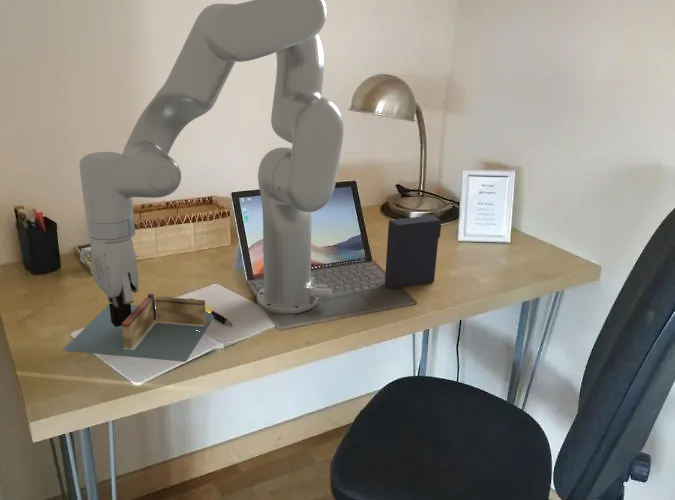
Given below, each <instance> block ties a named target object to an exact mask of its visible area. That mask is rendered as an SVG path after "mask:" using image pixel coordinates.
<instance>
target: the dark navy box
mask: <svg viewBox="0 0 675 500" xmlns="http://www.w3.org/2000/svg"><path fill="white" fill-rule="evenodd" d="M387 227H388V228H387V242H386V243H387V245H386V260H385V273H384V275H385V276H384V284H385V285H386V286H387V287H388V288H390V289H391V290H394V289H400V288H407V287H413V286H419V285H426V284H430V283H431V284H432V283H434V281H435V276H436V266H437V265H436V264H437V255H438V247H439V245H438V244H439V239H440V237H441V231H442V230H441V229H442V220H441V219H439V218H437V217H436V216H434V215H433V214H432V215H423V216H422V215H421V216H415V217H414V216H413V217H406V218H405V217H404V218H396V219H390V220H389V221H388V226H387Z"/></svg>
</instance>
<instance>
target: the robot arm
mask: <svg viewBox="0 0 675 500" xmlns="http://www.w3.org/2000/svg"><path fill="white" fill-rule="evenodd" d="M327 15H328V13H327V5H326V2H325V0H249V1H245V2H241V3H236V4H234V3H214V4H213V3H212V4H211V5H207V6H206V7H204V8H203V9H202V11H201V12H200V13H199V14H198V15H197V17H196V20H195V22H194V23H193V25H192V27H191V29H190V32H189V34H188V36H187V38H186V39H185V42H184V44H183V46H182V47H181V50H180V53H179V54H178V56H177V59H176V61H175V62H174V65H173V67H172V69H171V71H170V73H169V75H168V76H167V79H166V81H165V83H164V84H163V85H162V86H161V87H160V89H159V90H158V91H157V92H156V94H155V95H154V97H153V98H151V100H150V102H149V103H148V104H147V106H146V107H145V108H144V110H143V111H142V112H141V114H140V116H139V118H138V119H137V121H136V124H135V125H134V127H133V129H132V131H131V133H130V135H129V137H128V139H127V142H126V144H125V146H124V148H123V151H122V154H121V153H119V152H114V151H98V152H92V153H91V152H90V153H88V154H85V155H84V156H82V157H81V159H80V160H79V175H80V182H81V191H82V198H83V200H82V201H83V206H84V207H83V208H84V213H85V221H86V222H85V223H86V230H87V237H88V239H89V240H90V247H91V253H90V254H91V255H90V256H91V257H90V258H91V266H92V269H91V270H92V279H93V281H94V282H95V284H96V285H97V287H99V289H100V290H101V291H102V292H103V293H105V294H106V296H107V299H108V302H109V304H108V305H109V307H110V315H111V323H112V324H113V325H114V326H115V327H118V326H122V323H123V322H124V321H125V319H126V318H127V317H128V316H129V315H130V314H131V305H132V304H133V303H134V299H133V297H134V296H133V293H134V294H135V293H137V292H138V291H139V273H138V269H137V268H138V267H137V261H136V260H137V258H136V259H135V256H136V255H135V253H134V251H135V248H134V244H133V237H134V236H135V235H136V227H135V217H134V205H133V198H146V199H149V198H150V199H152V198H153V199H157V198H158V199H159V198H163V197H164V198H165V197H167V196H170V195H171V194H173V193H175V191H176V190H177V189H178V188H179V186H180V185H181V181H182V172H181V168H180V166H179V164H178V163H177V162H176V160H175V159H173V158H172V157H171V156H170V154H169V153H170V151H171V149H172V147H173V145H174V143H175V142H176V139H177V138H178V136H179V135H180V134H181V132H182V131H183V130H184V129H185V127H186V126H188V125H189V124H190V123H191V122H192V121H194V120H195V119H198V118H200V117H201V116H203V115H205V114H207V113H208V112H210V111H211V109H213V107H214V106H215V104H216V103H217V100H218V98H219V95H220V94H221V93H222V92H221V91H222V90H223V88H224V86H225V84H226V81H227V79H228V77H229V75H230V73H231V71H232V69H233V68H234V66H235V64H236V62H238V63H242V62H243V63H244V62H250V61H252V60H257V59H260V58H263V57H267V56H270V55H272V54H276V77H275V83H274V84H275V85H274V92H273V100H272V107H271V116H270V122H271V128H272V130H273V132H274V133H275V134H276V135H277V136H278V137H279V138H280V139H282V140H283V141H286V142H287V143H291V144H292V145H291V148H290V147H275V148H273V149H272V150H270V151H268V152H267V153H266V154H265V155H264V156H263V158H261V161H260V163H259V166H258V172H257V177H258V178H257V181H258V189H259V193H260V200H261V201H260V202H261V207H262V235H263V236H262V240H263V241H262V245H263V247H262V248H263V249H262V251H263V288H261V289H260V290H259V291H258V292H257V294H256V302H257V305H259V307H260V308H261V309H264V310H265V311H269V312H272V313H277V314H300V313H304V312H307V311H309V310H311V309H313V308H314V307H315V306H317V304H318V302H319V298H322V299H332V295H333V289H332V288H328V284H323V283H322V284H317V282H315V276H312V275H311V274H312V273H311V272H312V270H311V269H312V228H313V227H312V213H314V212H317V211H319V210H321V209H323V208H324V207H325V206H326V205H327V204H328V203H329V201H330V199H331V198H332V196H333V194H334V191H335V187H336V182H337V177H338V171H339V165H340V160H341V158H340V157H341V154H342V153H341V152H342V148H343V147H342V145H343V140H344V122H343V116H342V114H341V112H340V110H339V108H338V106H337V105H335V103H334V102H332V101H331V100H330V99H328V98H326V97H323V96H322V93H323V84H324V83H323V82H324V70H325V55H324V48H323V46H322V41H321V39H320V35H319V33H320V32H321V30H323V27H324V25H325V22H326V19H327ZM110 303H111V304H110Z"/></svg>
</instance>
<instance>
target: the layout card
mask: <svg viewBox="0 0 675 500" xmlns="http://www.w3.org/2000/svg"><path fill="white" fill-rule="evenodd" d="M109 304H111V303H110V302H109ZM109 304H108V305H107V306H106V307H105V308H103V310H101V312H99V313H98V314H97V316H96V317H94V319H93V320H92V321H91V322H90V323H89V324H88V325H87V326H86V327H84V328H83V329H82V330H81V332H80V333H78V335H76V336H75V337H74V338H73V340H72V341H70V343H68V344H67V345H66V346H65V347H64V349H62V351H64V352H75V353H76V352H77V353H86V354H98V355H108V356H110V355H111V356H117V357H118V356H120V357H131V358H141V359H155V360H165V361H174V362H175V361H176V362H187V360H188V359H189V358H190V356H191V354H192V352H193V351H194V349H195V348H196V347H197V345H198V343H199V342H200V341H201V338H202V337H203V335H204V334H205V332H206V331H207V329H208V327H209V326H210V324H211V323H212V321H213V320H214V318H215V316H213V315H212V314H211V313H208V312H206V324H205V325H196V324H184V323H172V322H160V321H157V315H156V320H155V321H153V322H152V324H151V325H150V326H149V327H148V328H147V329H146V331H145V332H144V333H143V334H142V335H141V337H140V338H139V339H138V340H137V341H136V343H135V344H134V345H133V346H132V347H131V348H126V347H124V339H123V331H122V326H118V327H115V326H114V325H113V324H112V323H111V315H110V307H109ZM137 307H138V305H134V304H131V313H132V312H133V311H134V310H135V309H136V308H137ZM215 312H216V314H218V311H215ZM196 330H198V331H196ZM199 331H200V332H199Z"/></svg>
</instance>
